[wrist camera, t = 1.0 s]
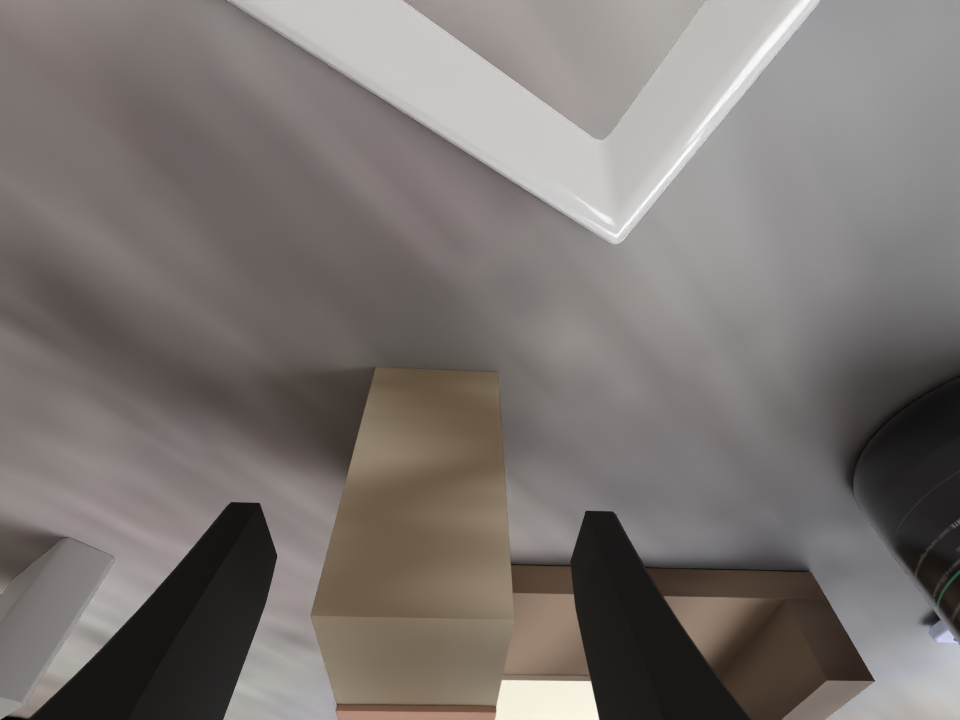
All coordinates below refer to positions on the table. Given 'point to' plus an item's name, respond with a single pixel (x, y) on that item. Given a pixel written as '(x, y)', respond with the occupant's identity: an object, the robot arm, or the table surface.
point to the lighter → (44, 614)
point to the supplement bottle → (919, 495)
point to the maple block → (420, 554)
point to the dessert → (532, 123)
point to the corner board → (712, 627)
